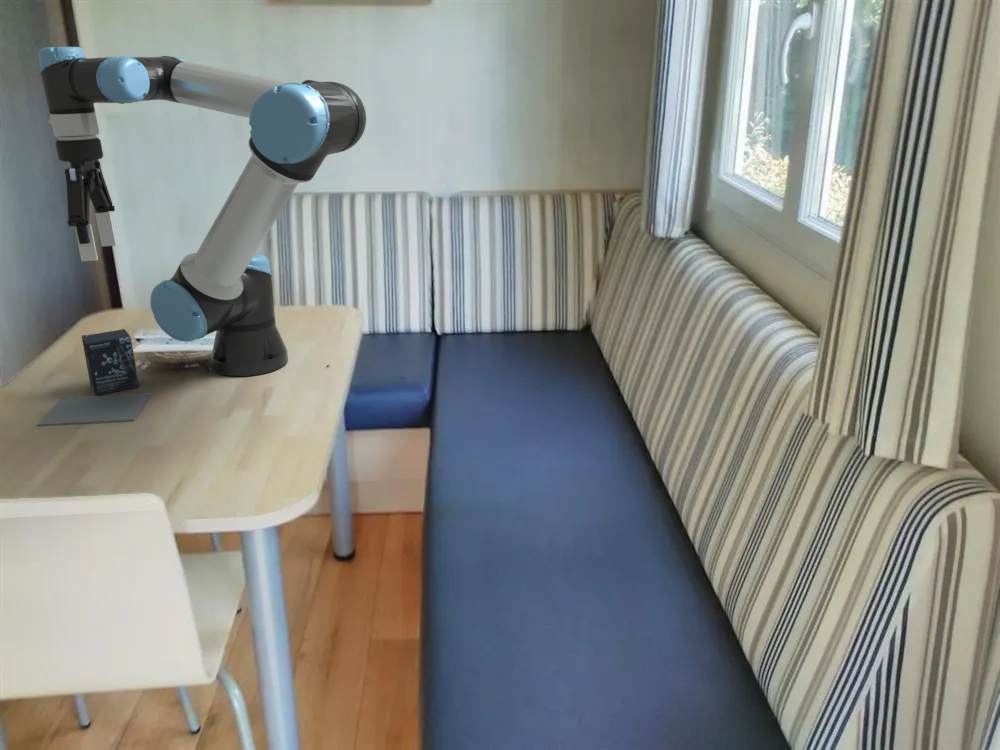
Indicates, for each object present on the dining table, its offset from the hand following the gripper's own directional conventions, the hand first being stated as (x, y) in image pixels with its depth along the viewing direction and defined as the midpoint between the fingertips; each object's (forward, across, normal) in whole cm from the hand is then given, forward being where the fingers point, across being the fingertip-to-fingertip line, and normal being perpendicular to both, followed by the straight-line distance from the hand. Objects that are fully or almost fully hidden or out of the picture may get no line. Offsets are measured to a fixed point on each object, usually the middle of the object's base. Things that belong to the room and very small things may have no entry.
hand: (99, 253), depth 161 cm
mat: (+25, +19, 0) cm, 31 cm away
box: (+25, +8, 0) cm, 26 cm away
